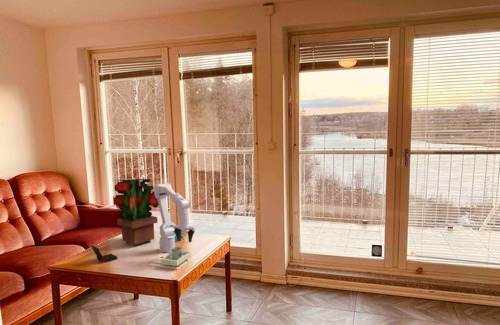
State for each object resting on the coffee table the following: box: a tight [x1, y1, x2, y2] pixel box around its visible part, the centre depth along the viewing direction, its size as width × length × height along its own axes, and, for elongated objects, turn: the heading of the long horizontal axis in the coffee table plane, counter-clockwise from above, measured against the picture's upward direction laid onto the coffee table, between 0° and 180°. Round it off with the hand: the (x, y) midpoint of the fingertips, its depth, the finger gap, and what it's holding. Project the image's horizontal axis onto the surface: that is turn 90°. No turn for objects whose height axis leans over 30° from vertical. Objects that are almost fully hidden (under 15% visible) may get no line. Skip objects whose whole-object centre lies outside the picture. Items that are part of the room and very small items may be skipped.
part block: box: [172, 246, 182, 260], centre depth 195 cm, size 4×4×6 cm
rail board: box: [149, 255, 191, 270], centre depth 197 cm, size 19×14×1 cm
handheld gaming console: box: [90, 244, 118, 264], centre depth 203 cm, size 9×12×10 cm
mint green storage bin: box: [161, 250, 192, 266], centre depth 195 cm, size 10×15×4 cm
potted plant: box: [112, 177, 159, 247], centre depth 234 cm, size 22×22×45 cm
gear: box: [175, 229, 185, 242], centre depth 241 cm, size 11×6×10 cm
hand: (184, 241), depth 203 cm, fingers open, 7 cm apart
